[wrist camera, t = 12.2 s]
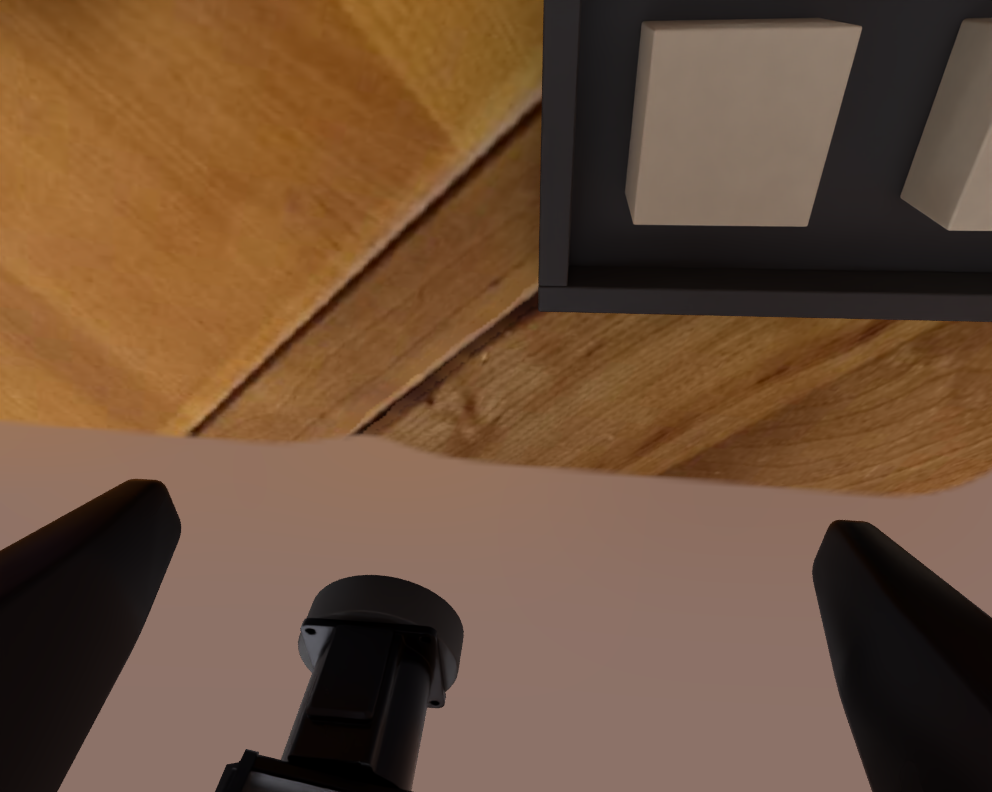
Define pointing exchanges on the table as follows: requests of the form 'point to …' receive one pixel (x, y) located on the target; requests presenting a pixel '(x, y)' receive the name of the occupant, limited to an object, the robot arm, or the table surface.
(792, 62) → the loose pad
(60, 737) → the robot arm
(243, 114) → the table surface
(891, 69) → the tray
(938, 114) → the pad
